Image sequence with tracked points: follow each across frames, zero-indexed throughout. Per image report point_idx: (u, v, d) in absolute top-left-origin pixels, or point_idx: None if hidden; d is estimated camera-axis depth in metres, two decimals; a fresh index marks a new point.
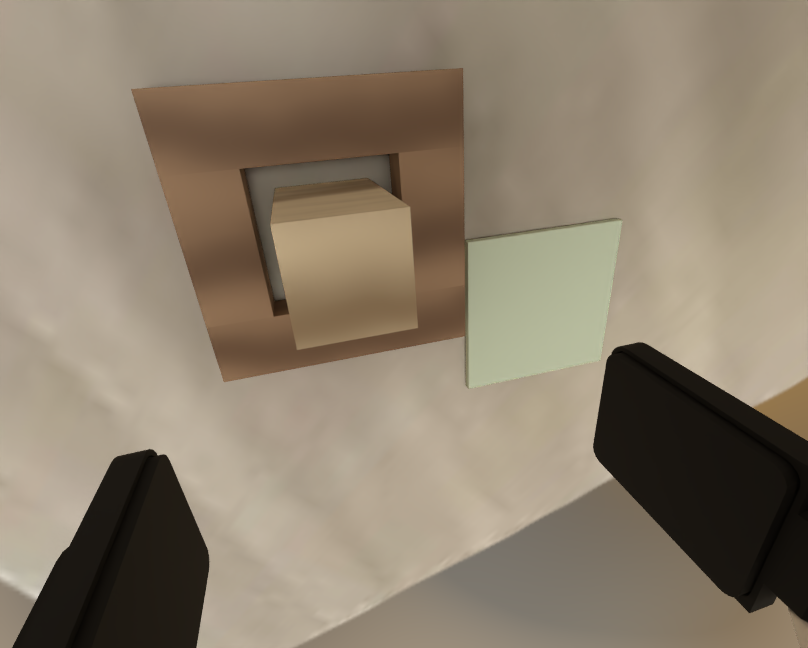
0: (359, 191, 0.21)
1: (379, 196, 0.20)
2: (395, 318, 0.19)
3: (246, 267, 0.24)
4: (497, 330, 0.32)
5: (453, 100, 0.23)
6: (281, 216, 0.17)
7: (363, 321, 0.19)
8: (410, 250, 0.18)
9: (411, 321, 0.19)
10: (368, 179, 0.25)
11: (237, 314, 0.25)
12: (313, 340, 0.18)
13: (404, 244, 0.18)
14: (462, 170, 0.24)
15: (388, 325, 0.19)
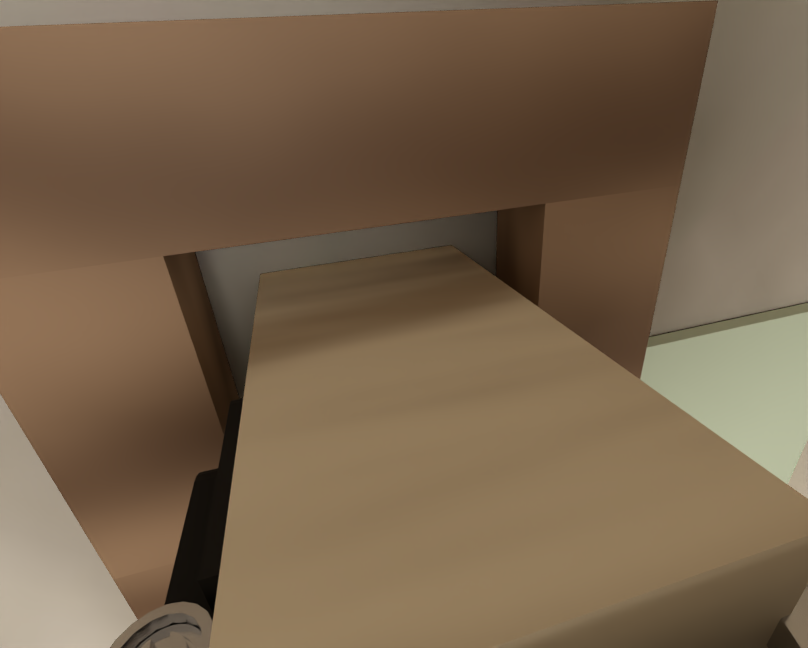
0: (477, 316, 0.08)
1: (571, 363, 0.06)
2: None
3: (195, 461, 0.10)
4: None
5: (681, 81, 0.10)
6: (266, 560, 0.04)
7: None
8: (769, 638, 0.05)
9: None
10: (458, 251, 0.12)
11: None
12: None
13: (760, 630, 0.04)
14: (667, 235, 0.11)
15: None
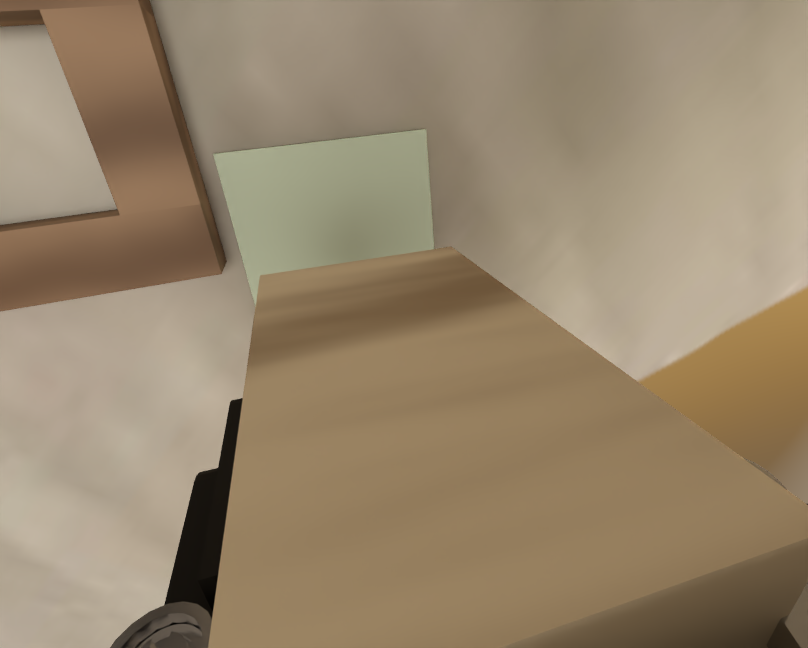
0: (476, 318, 0.08)
1: (569, 366, 0.06)
2: None
3: None
4: None
5: None
6: (264, 563, 0.04)
7: None
8: (766, 641, 0.05)
9: None
10: (457, 253, 0.12)
11: None
12: None
13: (757, 633, 0.04)
14: (148, 40, 0.19)
15: None
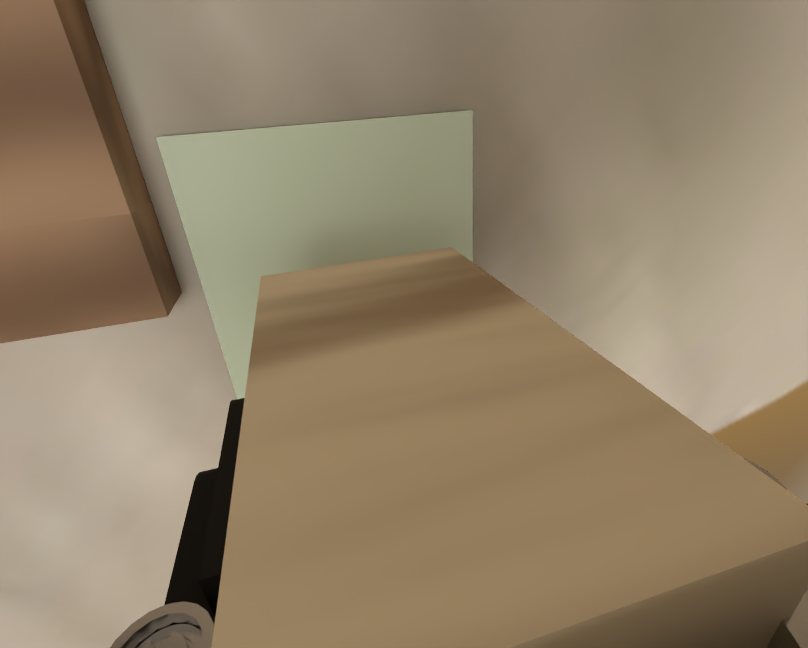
0: (478, 319, 0.08)
1: (571, 367, 0.06)
2: None
3: None
4: None
5: None
6: (267, 565, 0.04)
7: None
8: (768, 642, 0.05)
9: None
10: (458, 253, 0.12)
11: None
12: None
13: (760, 635, 0.04)
14: None
15: None
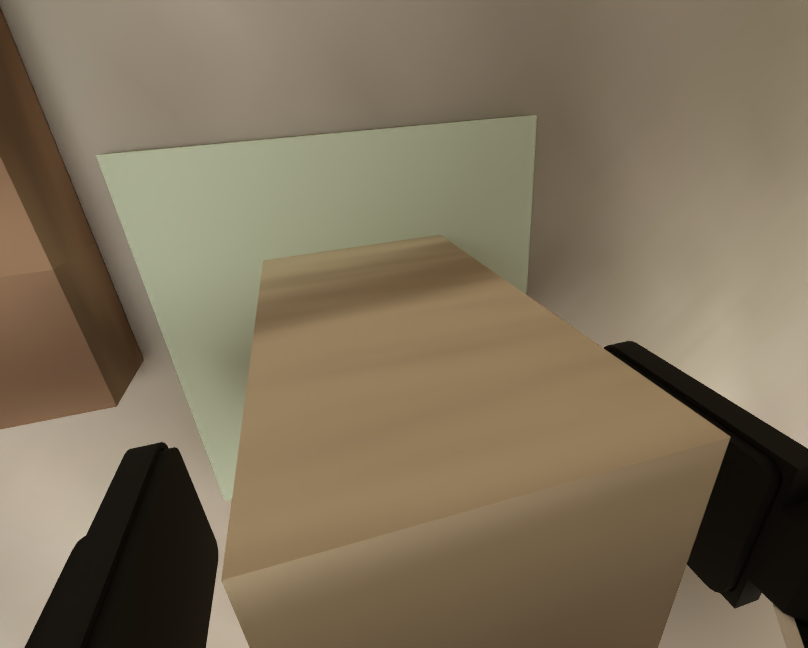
0: (458, 293, 0.09)
1: (535, 329, 0.07)
2: None
3: None
4: None
5: None
6: (272, 467, 0.05)
7: None
8: (686, 544, 0.06)
9: None
10: (445, 240, 0.13)
11: None
12: None
13: (676, 534, 0.05)
14: None
15: None
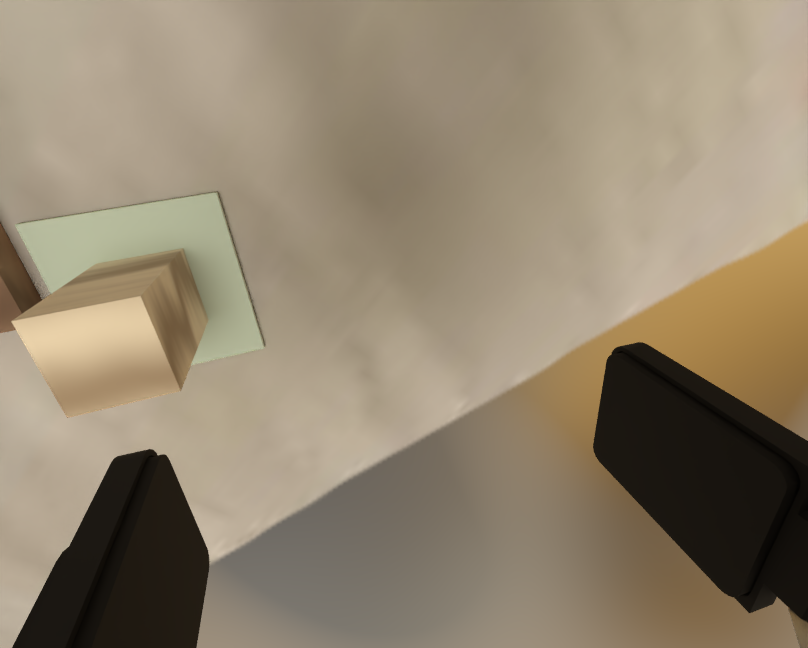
0: (143, 270, 0.25)
1: (144, 279, 0.23)
2: (155, 385, 0.22)
3: None
4: None
5: None
6: (35, 309, 0.20)
7: (125, 389, 0.22)
8: (152, 329, 0.21)
9: (172, 386, 0.22)
10: (179, 250, 0.29)
11: None
12: (81, 408, 0.22)
13: (144, 325, 0.21)
14: None
15: (150, 391, 0.22)
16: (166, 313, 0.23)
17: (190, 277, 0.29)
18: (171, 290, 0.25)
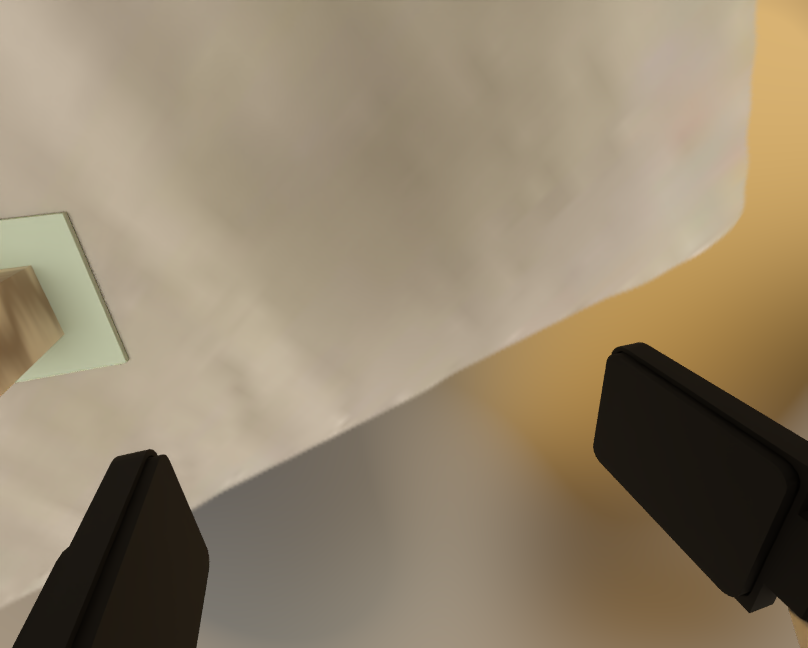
0: None
1: None
2: None
3: None
4: None
5: None
6: None
7: None
8: None
9: None
10: (24, 268, 0.29)
11: None
12: None
13: None
14: None
15: None
16: None
17: (38, 294, 0.30)
18: None
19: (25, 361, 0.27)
